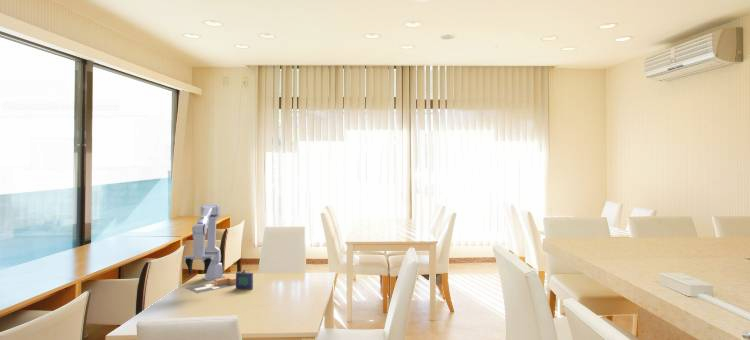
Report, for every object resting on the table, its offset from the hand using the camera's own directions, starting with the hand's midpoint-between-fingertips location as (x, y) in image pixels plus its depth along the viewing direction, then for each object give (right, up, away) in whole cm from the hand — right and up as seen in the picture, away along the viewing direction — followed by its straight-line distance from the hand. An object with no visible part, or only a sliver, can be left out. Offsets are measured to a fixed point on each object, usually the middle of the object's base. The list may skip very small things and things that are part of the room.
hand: (197, 273), depth 237 cm
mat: (+5, -10, +15) cm, 19 cm away
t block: (+8, -10, +17) cm, 21 cm away
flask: (+22, -11, +9) cm, 26 cm away
